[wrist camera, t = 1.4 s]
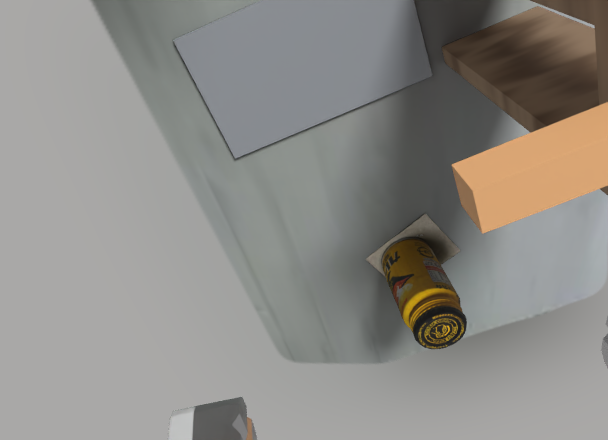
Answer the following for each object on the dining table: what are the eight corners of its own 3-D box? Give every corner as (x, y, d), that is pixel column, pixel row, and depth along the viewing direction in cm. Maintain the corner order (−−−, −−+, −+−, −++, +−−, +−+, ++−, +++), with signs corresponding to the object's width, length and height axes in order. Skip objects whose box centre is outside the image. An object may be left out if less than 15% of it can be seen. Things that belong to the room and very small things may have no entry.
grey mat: (235, 156, 50) (235, 158, 50) (173, 39, 44) (173, 40, 44) (431, 74, 49) (432, 75, 48) (397, -61, 42) (398, -61, 42)
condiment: (365, 258, 60) (393, 334, 50) (424, 212, 57) (467, 282, 47) (401, 291, 63) (435, 368, 53) (459, 249, 61) (506, 321, 51)
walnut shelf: (445, 63, 48) (628, 211, 27) (416, -63, 42) (622, -3, 21) (539, 23, 47) (807, 143, 26) (524, -111, 41) (857, -101, 20)
